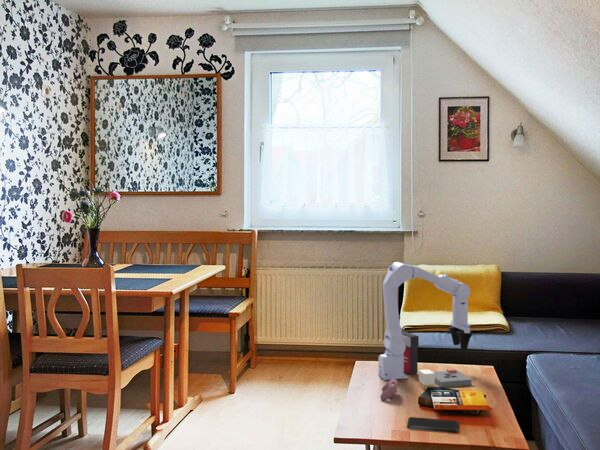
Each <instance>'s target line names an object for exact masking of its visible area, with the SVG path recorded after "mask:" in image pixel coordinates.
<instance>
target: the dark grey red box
mask: <svg viewBox="0 0 600 450" xmlns="http://www.w3.org/2000/svg"><path fill="white" fill-rule="evenodd" d="M400 331H401V334H402V338H403V341H404V343H405V345H406V349H405V351H404V373H406V374H409V375H411V376H412V375H417V374H419V370H418V348H419V344H420V343H419V341H420V339H419V335H417V334H414V333H411V332H407V331H405V330H400Z"/></svg>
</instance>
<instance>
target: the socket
mask: <svg viewBox="0 0 600 450" xmlns="http://www.w3.org/2000/svg"><path fill="white" fill-rule="evenodd" d="M432 372H433V373H435V384H436V385H437V386H438V387H440V388H449V387H461V386H462V387H463V386H472V378H470V377H469V376H467V375H465V374H464V373H462V372H460V371H459V370H458V369H456V368H447V370H444V371H443V370H442V371H432Z"/></svg>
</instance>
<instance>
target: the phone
mask: <svg viewBox="0 0 600 450" xmlns="http://www.w3.org/2000/svg"><path fill="white" fill-rule="evenodd" d="M406 428H407V429H409V430H419V431H427V432H441V433H449V434H450V433H451V434H458V433H459V431H460V429H459V428H460V425H459V421H457V420H454V419H453V420H451V419H441V418H440V419H439V418H426V417H417V416H416V417H414V416H410V417H408V419H407V423H406Z"/></svg>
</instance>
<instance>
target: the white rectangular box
mask: <svg viewBox="0 0 600 450" xmlns="http://www.w3.org/2000/svg"><path fill="white" fill-rule="evenodd" d="M433 372H434V371H433V370H431V369H429V368H428V369H419V370H418V381H419V382H420V383H421V384H422V389H423V390H427V389H428V388H427V387H428V385H429V387H431V386H433V387H434V385H435V384H436V383H435V373H433Z"/></svg>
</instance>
